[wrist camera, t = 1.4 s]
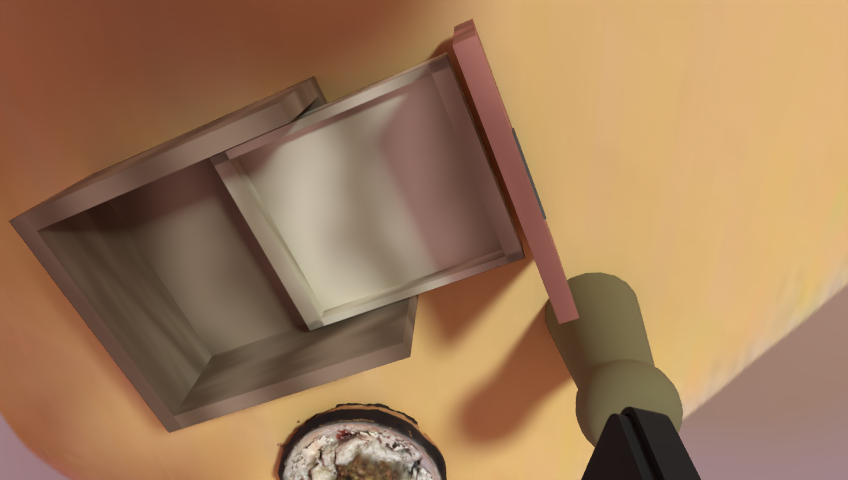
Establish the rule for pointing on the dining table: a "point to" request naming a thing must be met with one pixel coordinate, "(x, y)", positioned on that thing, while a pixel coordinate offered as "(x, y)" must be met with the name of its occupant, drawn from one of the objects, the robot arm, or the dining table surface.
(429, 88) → the drawer
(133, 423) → the dining table surface
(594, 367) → the olive green pawn
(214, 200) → the caddy
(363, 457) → the pie
